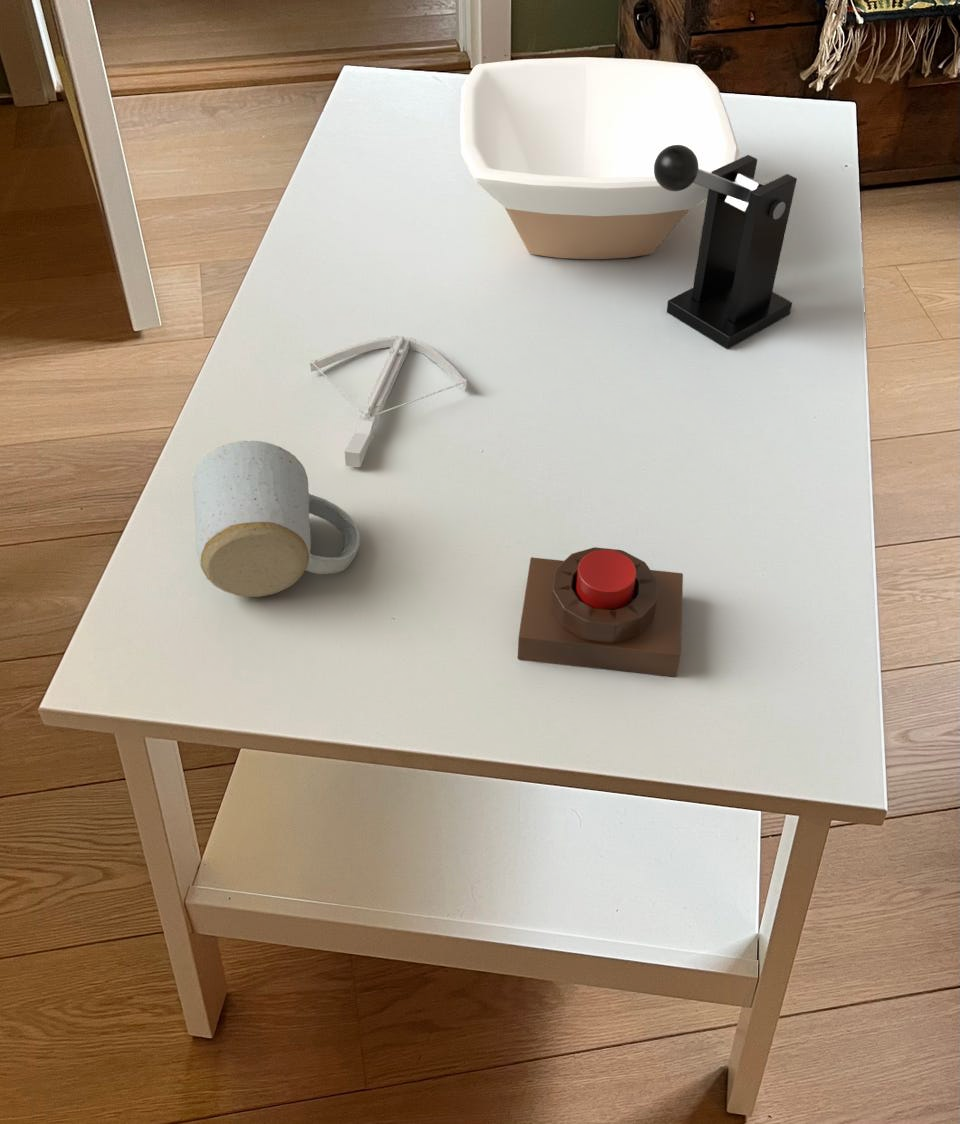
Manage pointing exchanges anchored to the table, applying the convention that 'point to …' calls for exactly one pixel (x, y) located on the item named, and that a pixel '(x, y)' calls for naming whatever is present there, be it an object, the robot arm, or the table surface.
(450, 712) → the table surface
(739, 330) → the bracket
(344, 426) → the table surface
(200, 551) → the ceramic mug
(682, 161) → the lever
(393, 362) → the crossbow
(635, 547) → the table surface
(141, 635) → the table surface
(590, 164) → the bowl
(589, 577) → the button
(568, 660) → the button block
